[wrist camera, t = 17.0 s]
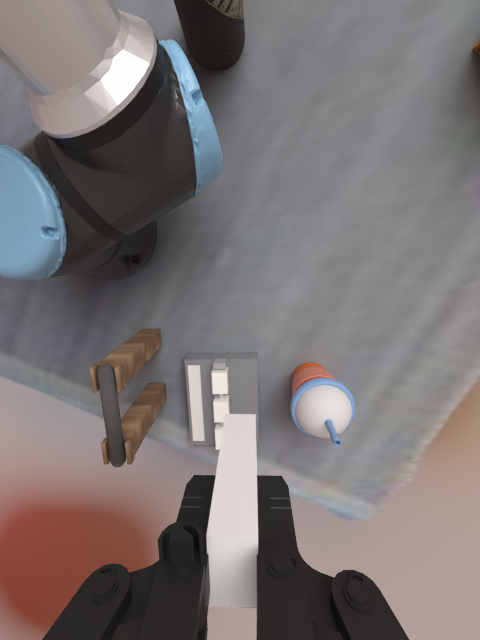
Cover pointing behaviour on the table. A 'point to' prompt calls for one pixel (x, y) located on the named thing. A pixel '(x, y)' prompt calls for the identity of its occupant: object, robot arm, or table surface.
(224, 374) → the breaker paddles
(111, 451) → the dark grey rod
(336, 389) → the cup with straw
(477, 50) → the milk carton
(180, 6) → the container
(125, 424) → the posts
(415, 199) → the table surface
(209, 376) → the breaker panel
